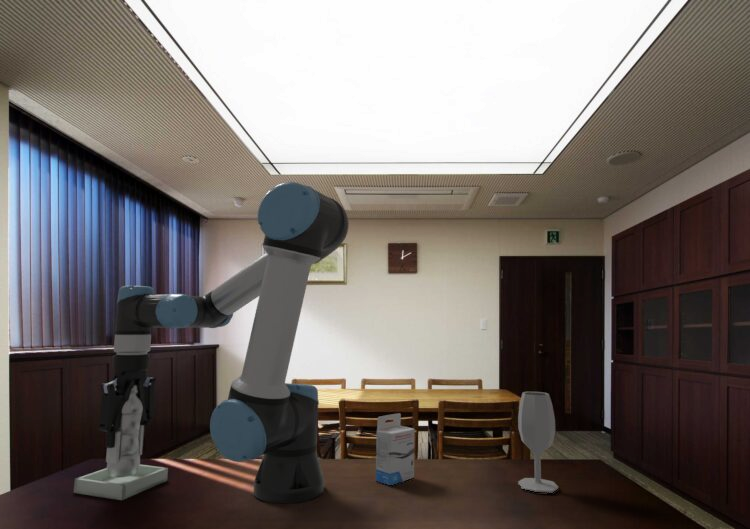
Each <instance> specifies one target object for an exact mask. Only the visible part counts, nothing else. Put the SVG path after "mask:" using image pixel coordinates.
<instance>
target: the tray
mask: <svg viewBox="0 0 750 529" xmlns="http://www.w3.org/2000/svg"><path fill="white" fill-rule="evenodd" d="M168 472H169V467H163V466H155V465H148V464H141V463H140V466H139V469H138V471H137V472H136V474H134V475H131V476H127V477H111V476H110V475H109V474H108V472H107V467H105V468H103V469H100V470H97V471H94V472H91V473H87V474H85V475H83V476H79V477H76V478H74V481H73V482H74V483H73V484H74V485H73V494H79V495H87V496H92V497H98V498H105V499H111V500H116V501H123V500H126V499H128V498H131V497H134V496H135V495H138V494H139V493H142V492H145V491H146V490H149V489H151V488H154V487H157V486H158V485H161V484H163V483H166V482H167V481H168Z"/></svg>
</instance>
